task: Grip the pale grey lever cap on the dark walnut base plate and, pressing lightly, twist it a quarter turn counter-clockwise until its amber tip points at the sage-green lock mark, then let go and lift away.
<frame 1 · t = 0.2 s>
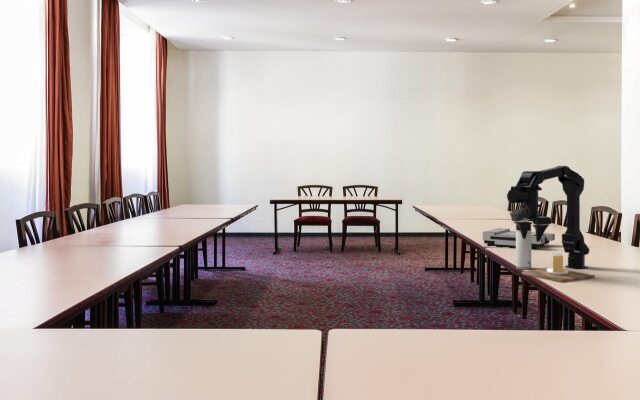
hand: (531, 240, 230), 14 cm above the table, tool pointing down, fingers open, 9 cm apart
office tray: (518, 246, 311), on the table
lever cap: (557, 263, 226), point 5 cm above the table, hinge at 0.0°
travel mug: (524, 268, 244), on the table
base plate: (557, 275, 226), on the table
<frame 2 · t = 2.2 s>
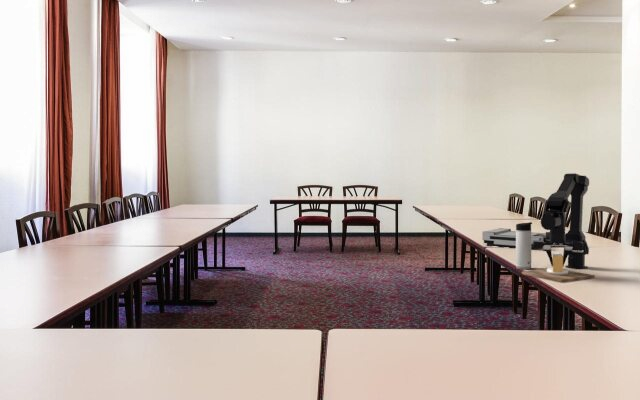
hand: (557, 266, 226), 4 cm above the table, tool pointing down, fingers closed on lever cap, 3 cm apart
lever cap: (557, 263, 226), point 5 cm above the table, hinge at 0.0°, touching gripper
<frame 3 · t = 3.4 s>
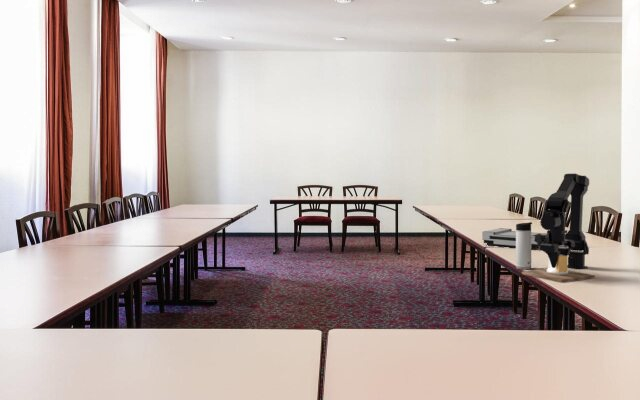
hand: (557, 266, 226), 4 cm above the table, tool pointing down, fingers closed on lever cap, 6 cm apart
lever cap: (557, 263, 226), point 5 cm above the table, hinge at 27.6°, touching gripper
everything else where it was.
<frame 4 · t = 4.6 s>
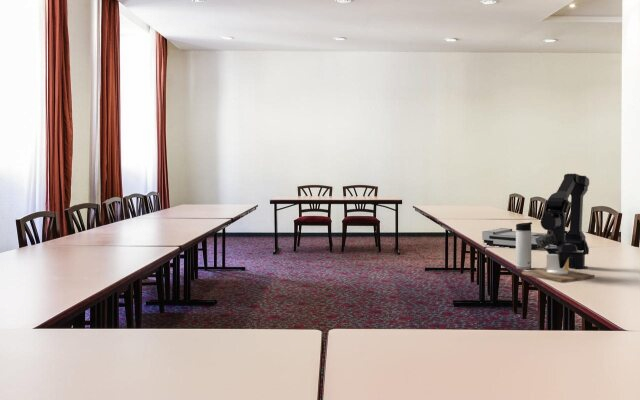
hand: (557, 266, 226), 4 cm above the table, tool pointing down, fingers closed on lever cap, 5 cm apart
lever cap: (557, 263, 226), point 5 cm above the table, hinge at 87.5°, touching gripper
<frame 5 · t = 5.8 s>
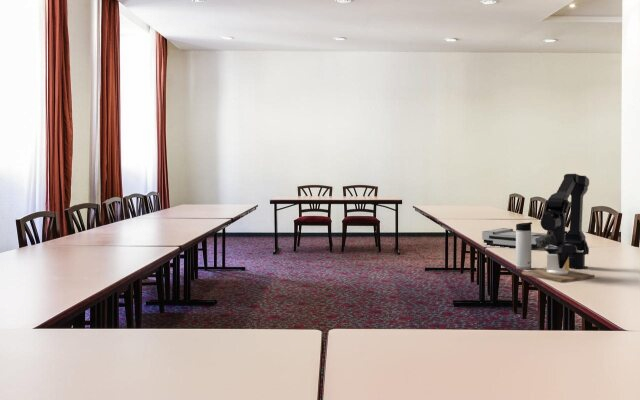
hand: (557, 267, 226), 4 cm above the table, tool pointing down, fingers closed on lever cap, 5 cm apart
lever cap: (557, 263, 226), point 5 cm above the table, hinge at 90.6°, touching gripper
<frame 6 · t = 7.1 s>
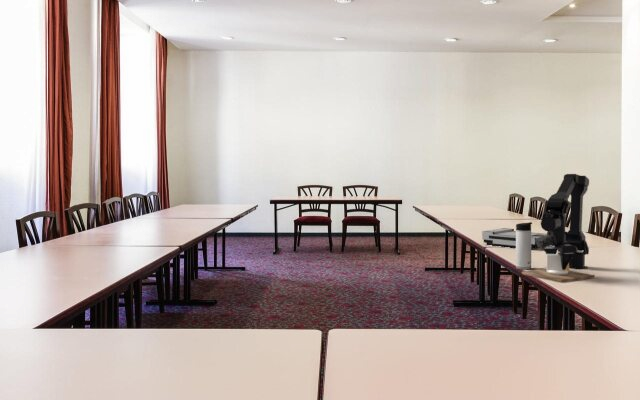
hand: (557, 267, 226), 3 cm above the table, tool pointing down, fingers open, 9 cm apart
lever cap: (557, 263, 226), point 5 cm above the table, hinge at 91.6°
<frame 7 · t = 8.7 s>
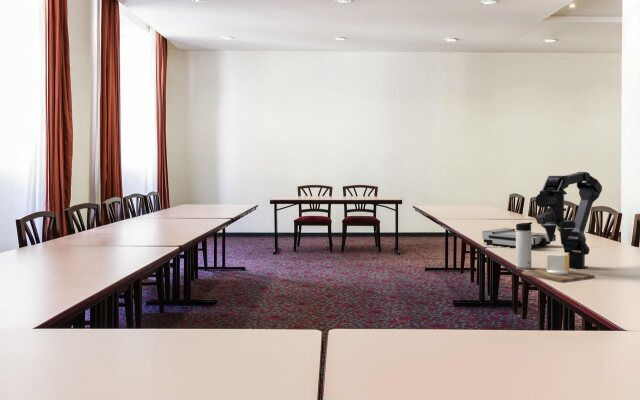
hand: (556, 243, 234), 12 cm above the table, tool pointing down, fingers open, 9 cm apart
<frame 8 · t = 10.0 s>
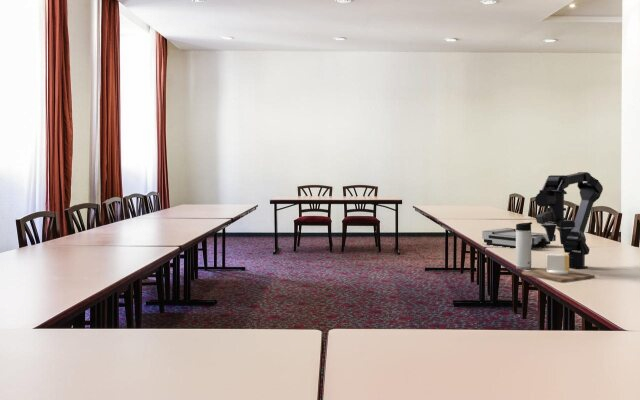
hand: (556, 242, 235), 12 cm above the table, tool pointing down, fingers open, 9 cm apart
at the end: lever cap at +92° (first picture: +0°); the gripper is holding nothing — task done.
